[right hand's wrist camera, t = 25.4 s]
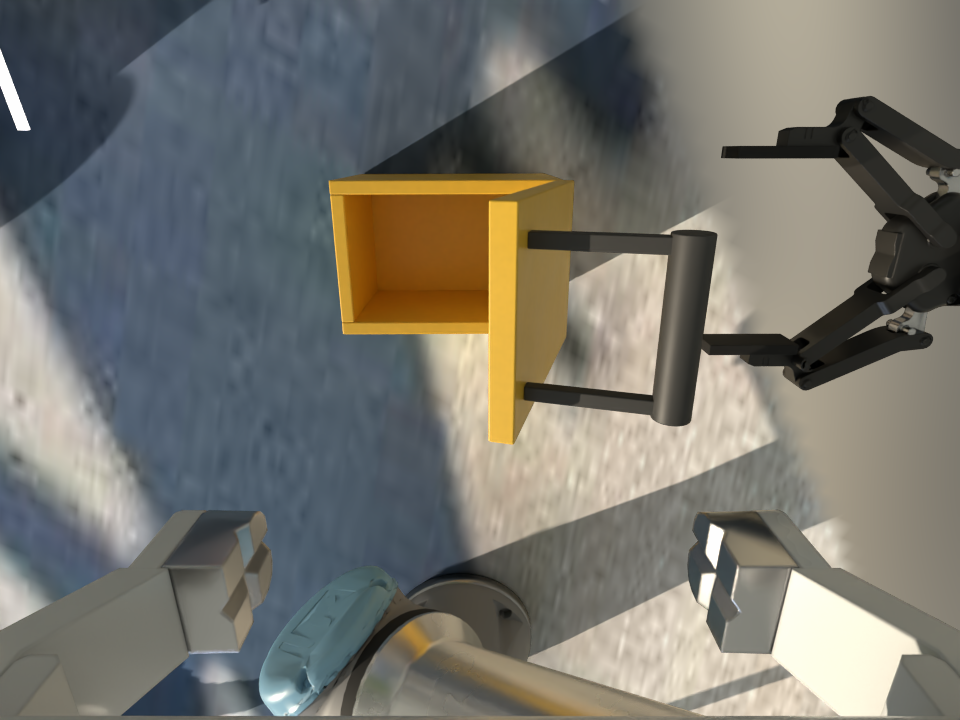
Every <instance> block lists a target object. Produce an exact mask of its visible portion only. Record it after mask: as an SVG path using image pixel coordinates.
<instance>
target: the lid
mask: <svg viewBox="0 0 960 720" xmlns="http://www.w3.org/2000/svg"><path fill="white" fill-rule="evenodd" d="M573 197H574V181H573V180H556V181H552V182H549V183H546V184H542V185H539V186H535V187H532V188H529V189H525V190H522V191H519V192H515V193H512V194H509V195H505V196H502V197H499V198H495V199H492V200H490V201H489V418H488V439H489V441H491V442H498V443H505V444H514V443H515V441H516V439H517V437H518V435H519V433H520V430H521V428H522V426H523V424H524V422H525V420H526V418H527V416H528V414H529V412H530V410H531V408H532V406H533V404H534V402H543V403H551V404H560V405H568V406H577V407H585V408H594V409H602V410H611V411H619V412H628V413H636V414H645V415H650V416H651V418H652V419H653V420H654V421H656V422H658V423H660V424H663V425H668V426H684V425H687V424H689V423H690V421H691V417H692V410H693V403H694V396H695V389H696V382H697V375H698V368H699V361H700V354H701V347H702V340H703V333H704V326H705V319H706V312H707V305H708V298H709V291H710V283H711V276H712V269H713V262H714V255H715V248H716V241H717V233H714V232H710V231H702V230H676V231H672V232H671V235H664V234H635V233H606V232H577V231H572V216H573ZM571 251H587V252H610V253H633V254H656V255H668V263H667V272H666V281H665V290H664V299H663V307H662V316H661V325H660V334H659V342H658V351H657V360H656V369H655V378H654V386H653V395H645V394H636V393H626V392H617V391H608V390H599V389H589V388H580V387H571V386H562V385H552V384H543V383H544V381H545V379H546V377H547V375H548V373H549V371H550V369H551V367H552V365H553V363H554V360H555V358H556V356H557V354H558V352H559V350H560V348H561V346H562V344H563V342H564V340H565V338H566V330H567V311H568V292H569V273H570V254H571Z"/></svg>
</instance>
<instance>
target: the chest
mask: <svg viewBox="0 0 960 720" xmlns="http://www.w3.org/2000/svg"><path fill="white" fill-rule="evenodd" d="M556 180H562V179H559V178H556V177H553V176H550V175H548V174H545V173H534V174H360V175H355V176H350V177H345V178H340V179H335V180H330V181H329V187H330V194H331V196H330V197H331V208H332V219H333V230H334V240H335V251H336V262H337V273H338V283H339V294H340V305H341V315H342V322H343V323H342V326H343V334H489V201H490V200H492V199H495V198H499V197H502V196H505V195H509V194H512V193H515V192H519V191H522V190H525V189H529V188H532V187H535V186H539V185H542V184H546V183H549V182H552V181H556Z"/></svg>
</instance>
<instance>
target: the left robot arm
mask: <svg viewBox="0 0 960 720" xmlns="http://www.w3.org/2000/svg"><path fill="white" fill-rule="evenodd" d="M862 132H863V133H865V134H866V135H868V136H869V137H871V138H873V139H874V140H876V141H878V142H879V143H881V144H882V145H884V146H886V147H887V148H889V149H891V150H892V151H894V152H896V153H897V154H899V155H901V156H902V157H904V158H905V159H907V160H909V161H910V162H912V163H914V164H916V165H919V166H922V167H926V168H928V169H927V170H926V174H927V175H928V176H930V178H931V179H932V180H934V181H936V182H937V184H938V191H937V192H934V193H932V194H930V195H928V196H926V197H925V198H923V197H921V196H920V195H918V194H916V193H914V192H913V191H912V190H911V188H910V187H909V186H908V185H907V184H906V183H905V182H904V180H903V179H902V178H901V177H900V176H899V175H898V174H897V172H896V171H895V170H894V169H893V168H892V167H891V166H890V164H889V163H888V162H887V161H886V160H885V159H884V158H883V156H882V155H881V154H880V153H879V152H878V151H877V149H876V148H875V147H874V146H873V145H872V144H871V143H870V141H869V140H868V139H867V138H866V137H865V136H864V135H863V133H862ZM721 158H834V159H835V160H836V161H837V162H838V163H839V164H840V165H841V166H842V168H843V169H844V170H845V171H846V172H847V173H848V174H849V175H850V176H851V177H852V179H853V180H854V181H855V182H856V183H857V184H858V185H859V186H860V187H861V189H862V190H863V191H864V192H865V193H866V194H867V195H868V196H869V197H870V198H871V200H872V201H873V202H874V203H875V208H876V210H877V211H878V212H879V213H880V214H881V215H882V216H883V217H884V219H885V220H886V221H887V223H886V224H885V225H884V227H883V229H882V230H878V232H877V236H876V240H875V241H876V252H875V254H874V256H873V258H872V260H871V262H870V265H869V269H868V272H869V273H871V274H872V278H871V279H870V280H868V281H867V282H865V283H864V284H862V285H861V286H860V287H858V288H857V289H856V290H855V291H854V295H853V296H852V297H850V298H849V299H847V300H846V301H845V302H843V303H842V304H840V305H839V306H837V307H836V308H835V309H833V310H832V311H830V312H829V313H827V314H826V315H825V316H823V317H822V318H820V319H819V320H817V321H816V322H815V323H813V324H812V325H810V326H809V327H807V328H806V329H805V330H803V331H802V332H800V333H799V334H797V335H796V336H795V337H793V338H792V339H788V338H786V337H785V336H783V335H781V334H703V340H702V347H701V349H702V350H704V351H705V352H706V353H707V354H708V355H740V358H741V359H743V360H744V361H745V362H747V363H748V364H750V365H753V366H784V370H783V375H784V377H785V378H787V379H788V380H789V381H791V382H792V383H794V384H795V385H796V386H798V387H799V388H800V389H802V390H809V389H812V388H814V387H817V386H819V385H821V384H824V383H826V382H829V381H831V380H833V379H836V378H838V377H840V376H843V375H845V374H848V373H850V372H852V371H855V370H857V369H859V368H862V367H864V366H866V365H869V364H871V363H874V362H876V361H878V360H881V359H883V358H885V357H888V356H890V355H893V354H895V353H897V352H900V351H907V350H916V349H924V348H927V347H928V346H930V345H931V343H932V341H933V337H932V335H931V334H929V333H926V332H924V329H925V323H926V318H927V312H929V311H931V310H933V309H935V308H938V307H941V306H960V149H956V148H955V147H953V146H951V145H950V144H948V143H947V142H945V141H943V140H942V139H940V138H938V137H937V136H935V135H934V134H932V133H931V132H929V131H927V130H926V129H924V128H923V127H921V126H919V125H918V124H916V123H915V122H913V121H911V120H910V119H908V118H907V117H905V116H904V115H902V114H900V113H899V112H897V111H896V110H894V109H892V108H891V107H889V106H888V105H886V104H884V103H883V102H881V101H880V100H878V99H876V98H875V97H872V96H867V97H859V98H852V99H846V100H842V101H841V102H839V104H838V105H837V107H836V116H835V118H834V120H833V121H832V123H831V124H830V125H828V126H827V127H793V128H785V129H783V130H780V131H779V133H778V139H777V145H776V146H723V148H722V155H721ZM883 291H884V292H885V293H887V294H882V292H883ZM902 307H903V308H905V312H904V314H903V315H902V316H900V317H899V318H896V319H894V320H892V319H890V320H888V321H887V322H886V325H887V326H882V327H877V328H874V329H871V330H869V331H866V332H864V333H862V334H859V335H857V336H855V337H852V336H853V335H855V334H856V333H858V332H859V331H860V330H862V329H863V328H865V327H866V326H868V325H869V324H871V323H872V322H874V321H875V320H877V319H878V318H880V317H881V316H883V315H887V314H892V313H894V312H896V311H897V310H899V309H900V308H902ZM850 337H852V338H850ZM849 338H850V339H849ZM847 339H848V340H847ZM530 645H531V628H530V620H529V616H528V613H527V610H526V608H525V606H524V605H523V603H522V602H521V600H520V599H519V598H518V597H517V596H516V595H515V594H514V593H513V592H512V591H511V590H510V589H508V588H507V587H505V586H504V585H502V584H500V583H498V582H496V581H494V580H491V579H489V578H485V577H482V576H477V575H470V574H452V575H445V576H440V577H437V578H433V579H431V580H428V581H426V582H424V583H422V584H420V585H419V586H417V587H416V588H414V589H413V590H412V591H410V592H409V593H408V594H407V595H406V596H404V595H403V593H402V592H401V591H400V589H399V588H398V583H397V582H396V581H395V579H394V578H391V577H390V576H389V575H388V574H387V573H386V572H385V571H384V570H382V569H381V568H379V567H376V566H364V567H359V568H356V569H353V570H351V571H349V572H347V573H345V574H343V575H341V576H340V577H338V578H337V579H335V580H334V581H332V582H331V583H330V584H328V585H327V586H325V587H324V588H323V589H321V590H320V591H319V592H318V593H317V594H316V595H314V596H313V597H312V598H311V599H310V600H309V601H308V602H307V603H306V604H305V605H304V606H303V607H302V608H301V609H300V610H299V611H298V612H297V613H296V614H295V616H294V617H293V618H292V619H291V620H290V621H289V623H288V624H287V625H286V626H285V628H284V629H283V630H282V632H281V633H280V635H279V636H278V638H277V639H276V641H275V642H274V644H273V645H272V647H271V649H270V651H269V653H268V656H267V658H266V660H265V662H264V664H263V667H262V670H261V674H260V678H259V691H260V695H261V698H262V700H263V702H264V703H265V704H266V706H267V707H268V708H269V709H270V710H271V712H272V713H273V714H274V715H275V716H704V715H701V714H698V713H694V712H691V711H688V710H685V709H681V708H678V707H675V706H671V705H668V704H665V703H662V702H658V701H655V700H652V699H648V698H645V697H642V696H639V695H635V694H632V693H629V692H626V691H622V690H619V689H616V688H612V687H609V686H606V685H603V684H599V683H596V682H593V681H589V680H586V679H583V678H580V677H576V676H573V675H570V674H567V673H563V672H560V671H557V670H553V669H550V668H547V667H544V666H540V665H537V664H534V663H530V662H527V659H528V656H529V652H530Z"/></svg>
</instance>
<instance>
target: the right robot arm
mask: <svg viewBox="0 0 960 720" xmlns="http://www.w3.org/2000/svg"><path fill="white" fill-rule="evenodd" d="M0 85H1V88H2V91H3V93H4V96H5V98H6V101H7V104H8V106H9V109H10V111H11V114H12V117H13V119H14V122H15V124H16V127H17V130H30V127H29V125H28V122H27V119H26V117H25V114H24V111H23V109H22V106H21V103H20V101H19V98H18V95H17V93H16V90H15V87H14V85H13V82H12V79H11V77H10V74H9V72H8V69H7V66H6V64H5V61H4V58H3V56H2V53H1V50H0ZM692 531H693V532H694V534H695V536H696V538H697V540H698V542H697V543H696V544H695V545H694V546H693V547H692V548H691V549H690V550H689V556H688V564H687V566H688V577H689V583H690V586H691V590H692V593H693V595H694V597H695V599H696V601H697V603H699V604H700V605H701V606H703V607H704V608H705V609H707V610H708V614H707V620H706V622H707V624H708V626H709V628H710V630H711V632H712V635H713V637H714V639H715V641H716V643H717V645H718V647H719V649H720V651H721V652H722V653H757V654H771V657H772V658H773V659H775V660H776V661H777V662H778V663H779V664H780V665H782V666H783V667H784V668H785V669H786V670H787V671H789V672H790V673H791V674H792V675H793V676H794V677H795V678H797V679H798V680H799V681H800V682H801V683H802V684H804V685H805V686H806V687H807V688H808V689H809V690H810V691H812V692H813V693H814V694H815V695H816V696H817V697H819V698H820V699H821V700H822V701H823V702H824V703H826V704H827V705H828V706H829V707H830V708H831V709H832V710H834V711H835V712H836V713H837V714H838V715H839V716H121V715H122V714H123V713H124V712H125V711H127V710H128V709H129V708H130V707H131V706H132V705H133V704H135V703H136V702H137V701H138V700H139V699H140V698H142V697H143V696H144V695H145V694H146V693H147V692H149V691H150V690H151V689H152V688H153V687H154V686H156V685H157V684H158V683H159V682H160V681H161V680H162V679H164V678H165V677H166V676H167V675H168V674H169V673H171V672H172V671H173V670H174V669H175V668H176V667H178V666H179V665H180V664H181V663H182V662H183V661H184V660H186V659H187V658H188V657H189V654H203V653H237V652H239V651H240V649H241V647H242V645H243V643H244V641H245V639H246V637H247V635H248V632H249V630H250V628H251V626H252V624H253V622H254V620H253V614H252V610H253V609H255V608H256V607H257V606H259V605H260V604H261V603H263V601H264V599H265V597H266V595H267V592H268V590H269V586H270V582H271V577H272V555H271V550H270V549H269V548H268V547H267V546H266V545H265V544H264V543H263V542H262V540H263V538H264V536H265V534H266V532H267V525H266V520H265V515H264V514H262V513H261V512H260V511H222V510H208V511H206V510H181V511H179V512H176V513H175V514H174V515H173V516H172V517H171V518H170V519H169V521H168V522H167V523H166V524H165V525H164V526H163V528H162V529H161V530H160V531H159V532H158V533H157V535H156V536H155V537H154V538H153V539H152V541H151V542H150V543H149V544H148V545H147V546H146V548H145V549H144V550H143V551H142V552H141V553H140V555H139V556H138V557H137V558H136V559H135V561H134V562H133V563H132V564H131V565H130V566H129V568H119V569H117V570H115V571H113V572H111V573H109V574H107V575H105V576H104V577H102V578H100V579H98V580H96V581H94V582H92V583H90V584H88V585H86V586H84V587H83V588H81V589H79V590H77V591H75V592H73V593H71V594H69V595H67V596H65V597H63V598H61V599H60V600H58V601H56V602H54V603H52V604H50V605H48V606H46V607H44V608H42V609H40V610H39V611H37V612H35V613H33V614H31V615H29V616H27V617H25V618H23V619H21V620H19V621H18V622H16V623H14V624H12V625H10V626H8V627H6V628H4V629H2V630H0V720H960V631H959V630H957V629H955V628H954V627H952V626H950V625H948V624H946V623H944V622H942V621H940V620H938V619H936V618H934V617H933V616H931V615H929V614H927V613H925V612H923V611H921V610H919V609H917V608H915V607H914V606H912V605H910V604H908V603H906V602H904V601H902V600H900V599H898V598H896V597H895V596H893V595H891V594H889V593H887V592H885V591H883V590H881V589H879V588H877V587H875V586H874V585H872V584H870V583H868V582H866V581H864V580H862V579H860V578H858V577H856V576H855V575H853V574H851V573H849V572H847V571H845V570H843V569H841V568H831V566H830V565H829V564H828V563H827V562H826V561H825V559H824V558H823V557H822V556H821V555H820V554H819V552H818V551H817V550H816V549H815V548H814V546H813V545H812V544H811V543H810V542H809V541H808V539H807V538H806V537H805V536H804V535H803V534H802V532H801V531H800V530H799V529H798V528H797V526H796V525H795V524H794V523H793V522H792V521H791V519H790V518H789V517H788V516H787V515H786V514H785V513H784V512H782V511H780V510H755V511H739V512H698V513H697V515H696V517H695V519H694V524H693V530H692Z"/></svg>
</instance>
